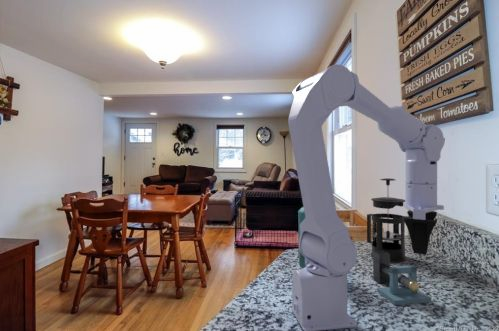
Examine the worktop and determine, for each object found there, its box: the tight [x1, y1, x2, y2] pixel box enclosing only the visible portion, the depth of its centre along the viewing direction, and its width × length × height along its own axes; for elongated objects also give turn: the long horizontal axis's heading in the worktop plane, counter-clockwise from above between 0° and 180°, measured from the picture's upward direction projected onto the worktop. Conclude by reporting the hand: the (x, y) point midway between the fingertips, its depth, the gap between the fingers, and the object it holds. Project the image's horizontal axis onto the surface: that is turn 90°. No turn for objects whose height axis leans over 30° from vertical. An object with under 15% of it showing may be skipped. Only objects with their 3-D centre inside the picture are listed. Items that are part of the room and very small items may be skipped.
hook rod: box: [372, 251, 420, 292], centre depth 64 cm, size 13×3×7 cm, turn 8°
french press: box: [366, 177, 407, 263], centre depth 88 cm, size 12×9×23 cm
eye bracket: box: [376, 264, 432, 306], centre depth 62 cm, size 6×8×6 cm
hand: (420, 248), depth 62 cm, fingers open, 7 cm apart
